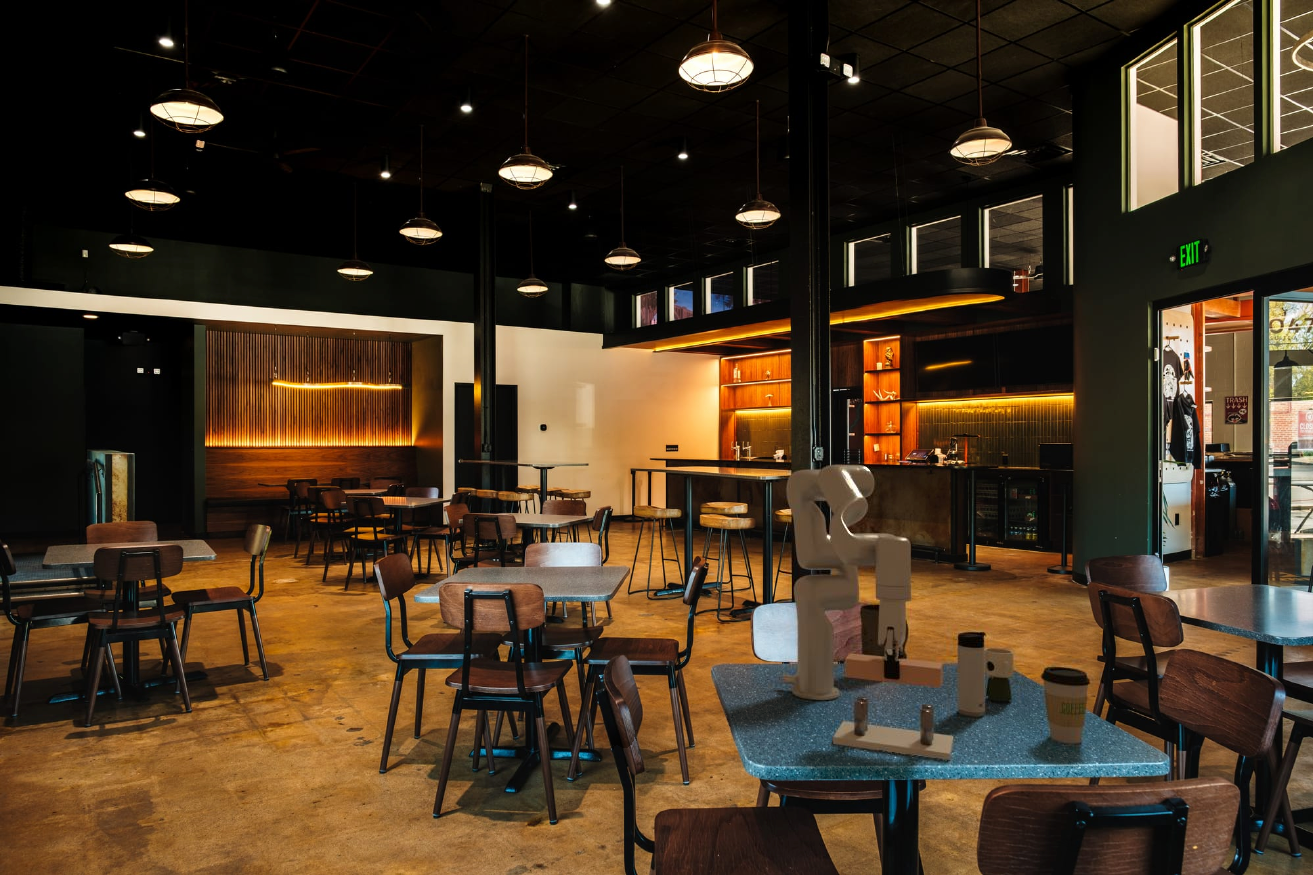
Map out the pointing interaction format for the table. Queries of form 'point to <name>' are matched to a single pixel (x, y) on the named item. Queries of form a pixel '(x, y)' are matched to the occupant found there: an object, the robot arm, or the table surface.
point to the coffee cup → (1065, 702)
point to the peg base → (894, 741)
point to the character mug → (998, 673)
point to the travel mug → (971, 674)
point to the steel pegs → (925, 720)
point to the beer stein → (874, 632)
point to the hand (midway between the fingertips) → (893, 674)
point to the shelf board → (909, 670)
